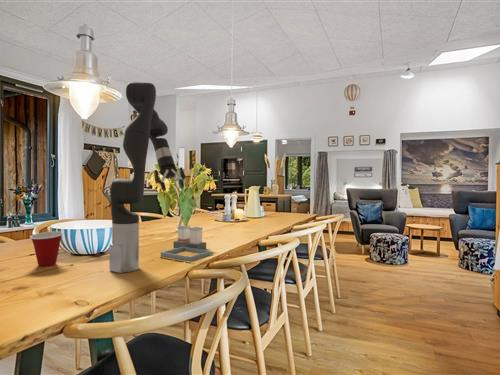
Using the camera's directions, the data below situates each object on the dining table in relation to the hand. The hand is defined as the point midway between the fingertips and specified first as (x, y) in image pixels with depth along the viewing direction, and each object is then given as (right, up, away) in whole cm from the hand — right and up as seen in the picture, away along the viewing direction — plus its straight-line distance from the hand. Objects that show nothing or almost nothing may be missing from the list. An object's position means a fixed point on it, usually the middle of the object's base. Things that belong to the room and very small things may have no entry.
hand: (173, 189), depth 156 cm
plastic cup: (-42, -29, -30) cm, 59 cm away
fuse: (+11, -28, -3) cm, 30 cm away
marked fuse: (+5, -28, +1) cm, 28 cm away
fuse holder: (+8, -29, -1) cm, 30 cm away
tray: (+9, -29, -15) cm, 34 cm away
